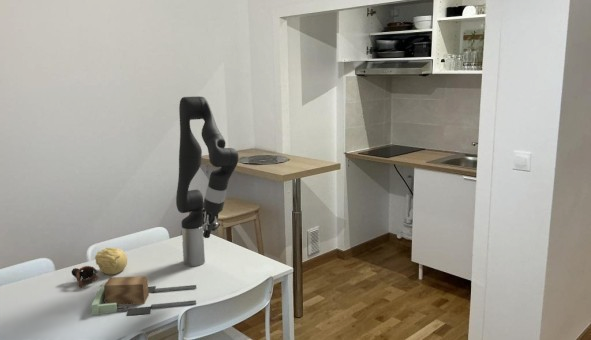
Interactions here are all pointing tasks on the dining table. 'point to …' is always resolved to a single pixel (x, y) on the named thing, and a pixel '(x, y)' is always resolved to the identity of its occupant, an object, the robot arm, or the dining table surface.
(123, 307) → the lane rails
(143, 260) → the dining table surface
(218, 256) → the dining table surface
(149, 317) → the dining table surface
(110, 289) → the walnut block
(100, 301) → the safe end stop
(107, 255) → the sculpture
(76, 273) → the pottery mug
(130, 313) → the mats
